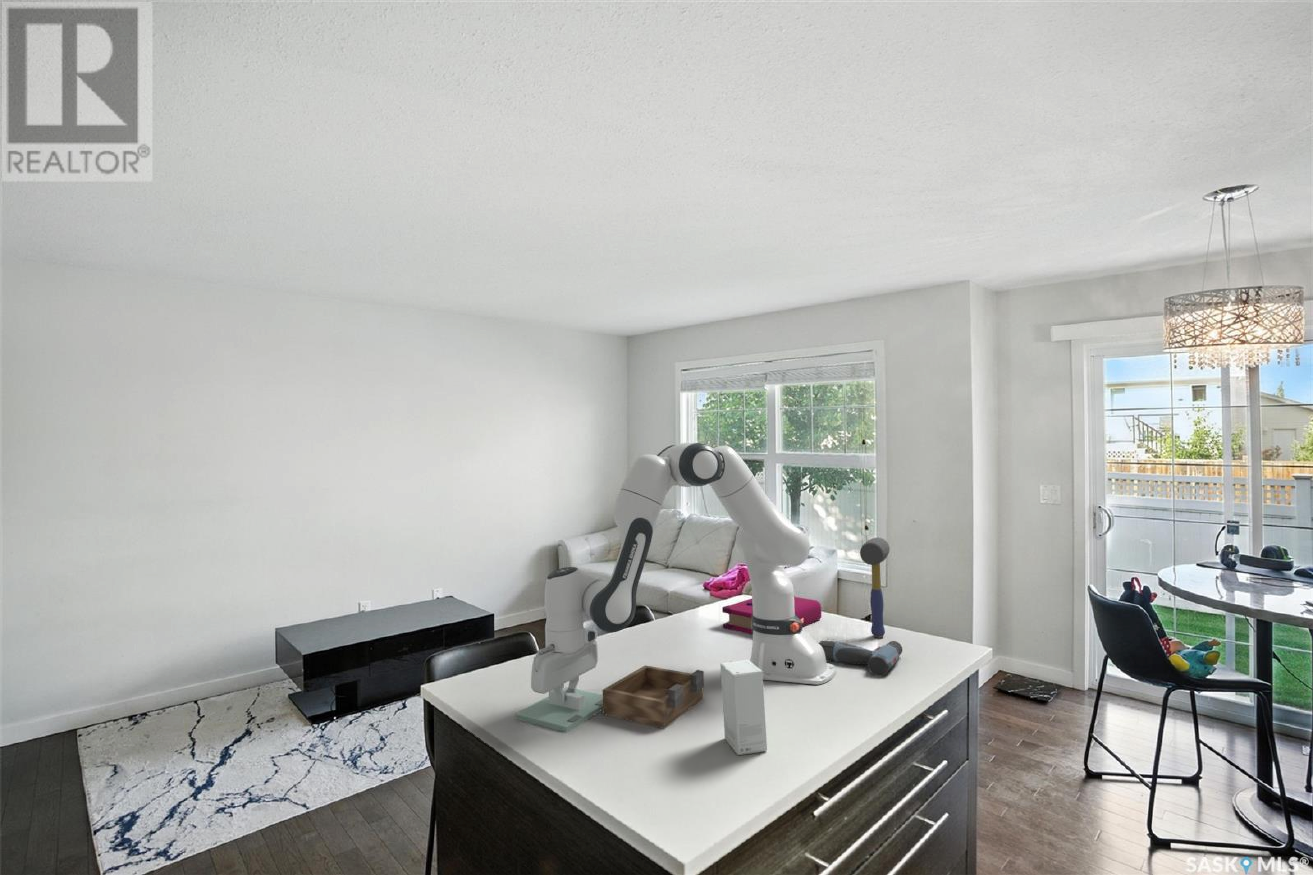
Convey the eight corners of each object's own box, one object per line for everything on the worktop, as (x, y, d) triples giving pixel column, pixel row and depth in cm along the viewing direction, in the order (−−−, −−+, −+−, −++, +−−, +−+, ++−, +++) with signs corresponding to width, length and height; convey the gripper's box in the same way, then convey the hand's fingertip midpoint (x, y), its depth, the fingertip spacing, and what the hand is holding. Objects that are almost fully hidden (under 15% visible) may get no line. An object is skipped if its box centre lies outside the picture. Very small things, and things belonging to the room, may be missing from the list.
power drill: (836, 646, 188) (907, 657, 177) (813, 665, 173) (889, 679, 161) (836, 628, 188) (906, 638, 177) (812, 645, 173) (888, 657, 161)
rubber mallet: (887, 644, 187) (883, 542, 188) (861, 641, 191) (857, 541, 192) (894, 632, 198) (890, 536, 199) (869, 630, 202) (866, 535, 203)
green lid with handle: (615, 702, 151) (614, 685, 151) (566, 732, 135) (566, 713, 135) (566, 692, 158) (566, 675, 158) (515, 719, 143) (514, 701, 143)
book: (822, 621, 215) (821, 599, 215) (774, 641, 195) (773, 616, 195) (770, 611, 230) (769, 590, 230) (721, 629, 210) (720, 605, 210)
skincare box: (767, 752, 124) (765, 671, 124) (735, 756, 122) (732, 675, 123) (752, 733, 132) (749, 658, 132) (721, 737, 130) (719, 661, 131)
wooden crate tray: (708, 699, 150) (707, 668, 150) (670, 730, 135) (669, 694, 135) (645, 687, 159) (644, 657, 159) (603, 714, 144) (602, 680, 144)
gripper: (545, 654, 137) (547, 719, 136) (601, 629, 154) (603, 686, 154) (523, 650, 140) (525, 713, 140) (580, 626, 157) (582, 682, 157)
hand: (566, 699), depth 147 cm, fingers closed on green lid with handle, 2 cm apart
